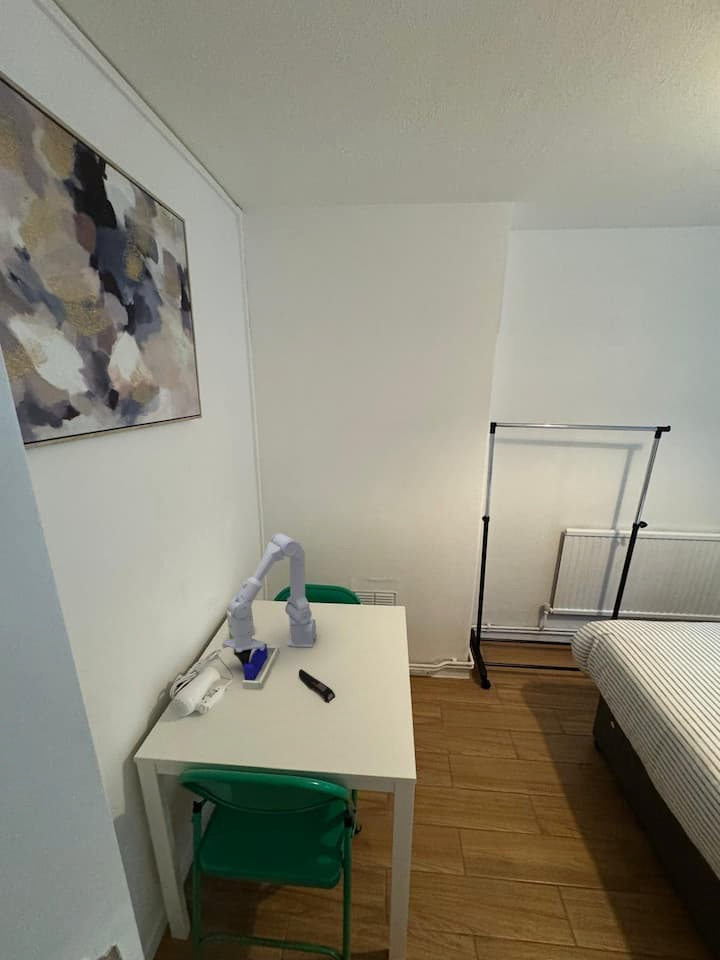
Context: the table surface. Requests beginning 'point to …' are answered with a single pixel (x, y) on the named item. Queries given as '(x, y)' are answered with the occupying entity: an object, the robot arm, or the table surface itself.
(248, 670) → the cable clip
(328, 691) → the electric trimmer
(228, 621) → the ink box
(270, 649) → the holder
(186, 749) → the table surface
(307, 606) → the robot arm
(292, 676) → the table surface
